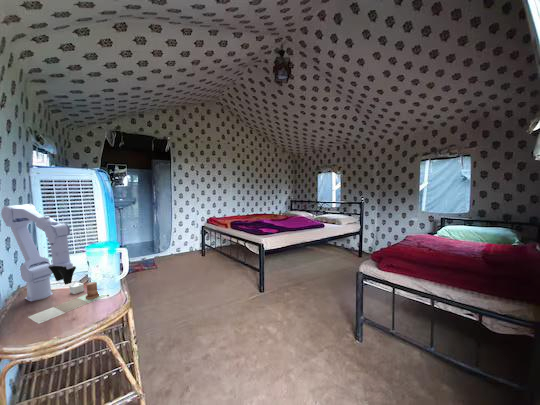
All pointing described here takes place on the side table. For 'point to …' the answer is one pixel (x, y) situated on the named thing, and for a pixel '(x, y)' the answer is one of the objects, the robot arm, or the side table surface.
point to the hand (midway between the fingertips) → (63, 281)
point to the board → (62, 309)
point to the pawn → (92, 290)
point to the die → (76, 288)
